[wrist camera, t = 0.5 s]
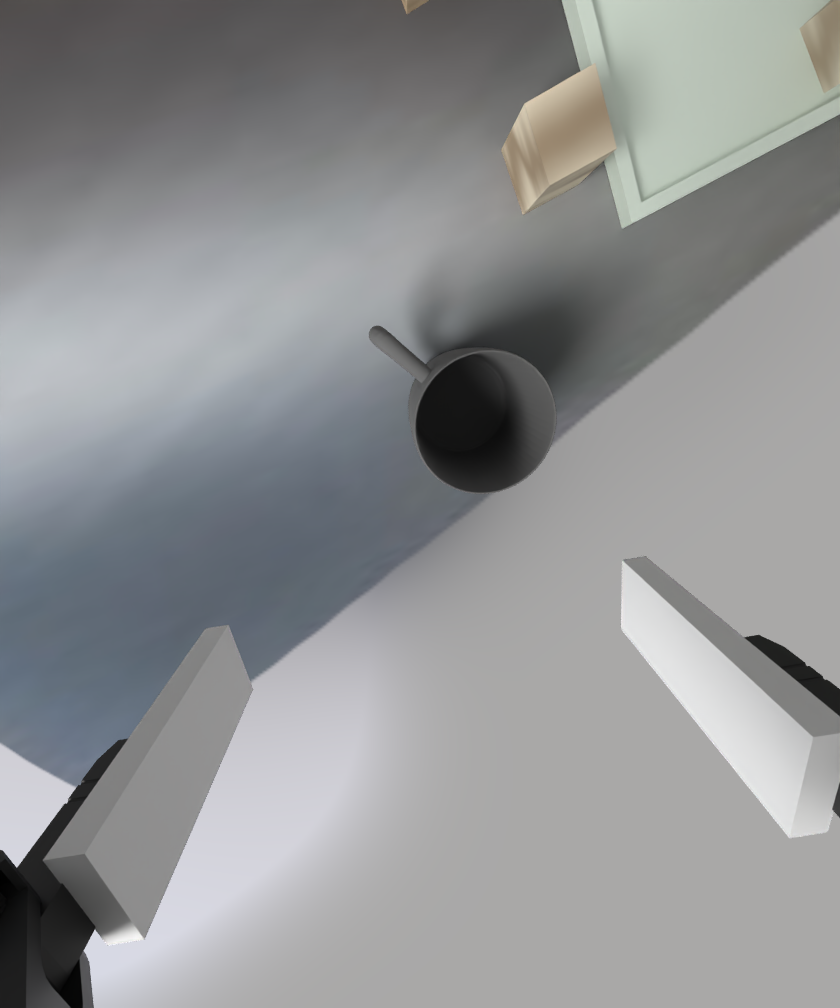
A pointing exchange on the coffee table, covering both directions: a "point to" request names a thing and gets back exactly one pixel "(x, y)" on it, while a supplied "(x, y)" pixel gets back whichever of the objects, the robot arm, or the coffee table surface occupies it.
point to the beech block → (558, 139)
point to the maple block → (824, 44)
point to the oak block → (412, 4)
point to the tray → (696, 88)
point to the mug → (476, 414)
